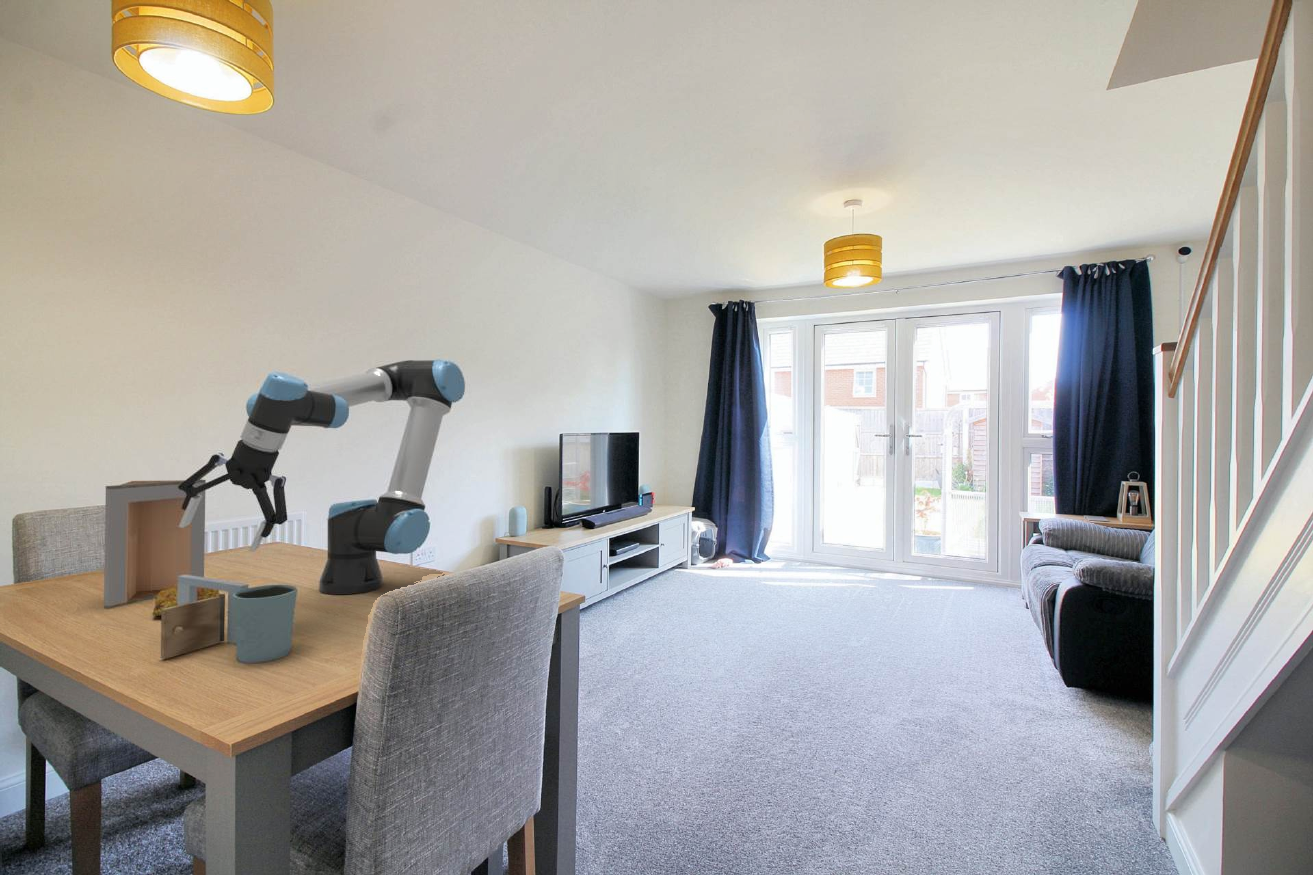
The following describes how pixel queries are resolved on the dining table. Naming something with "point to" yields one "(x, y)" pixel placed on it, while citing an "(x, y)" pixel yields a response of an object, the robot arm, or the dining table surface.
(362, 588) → the robot arm
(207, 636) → the door
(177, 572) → the cabinet
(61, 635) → the dining table surface
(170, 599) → the rock
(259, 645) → the teal cup
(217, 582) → the grey rectangular arch
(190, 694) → the dining table surface
